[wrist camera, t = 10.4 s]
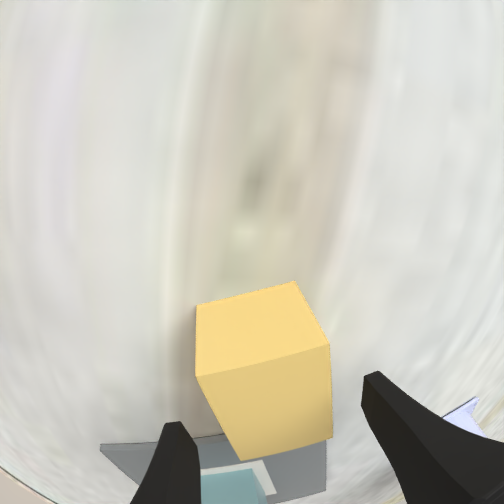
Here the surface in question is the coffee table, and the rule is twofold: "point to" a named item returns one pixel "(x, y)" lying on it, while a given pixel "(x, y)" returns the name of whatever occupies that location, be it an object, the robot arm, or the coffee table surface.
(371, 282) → the coffee table surface
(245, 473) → the teal brick
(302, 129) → the coffee table surface
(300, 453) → the baseplate
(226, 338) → the ochre brick
